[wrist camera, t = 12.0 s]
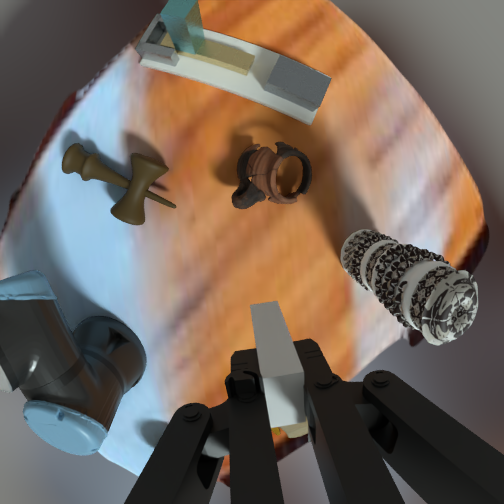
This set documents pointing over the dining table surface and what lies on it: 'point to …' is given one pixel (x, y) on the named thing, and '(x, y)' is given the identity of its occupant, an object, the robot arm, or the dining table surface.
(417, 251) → the decorative candle
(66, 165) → the kendama
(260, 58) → the base board
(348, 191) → the dining table surface
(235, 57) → the two-tone teal block
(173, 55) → the socket
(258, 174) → the brown grey jagged ring
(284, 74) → the sleeve
